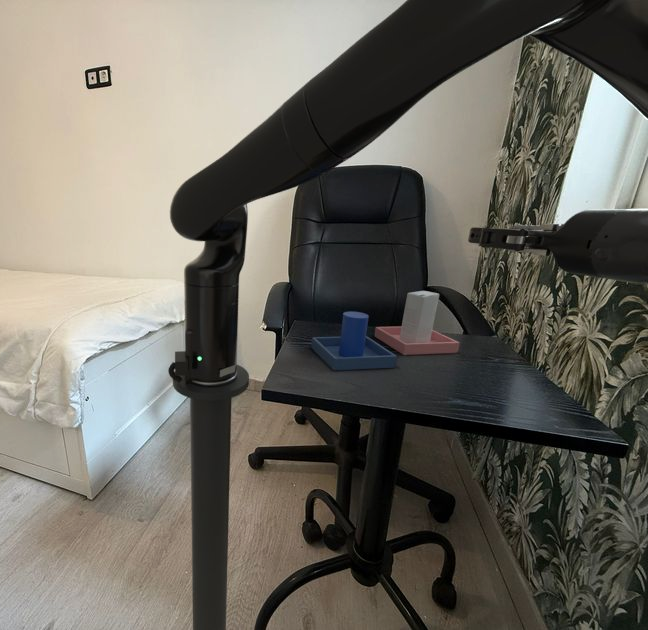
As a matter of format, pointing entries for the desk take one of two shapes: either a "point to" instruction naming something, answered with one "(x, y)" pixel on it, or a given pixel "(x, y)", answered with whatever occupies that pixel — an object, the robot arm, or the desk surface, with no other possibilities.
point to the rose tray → (435, 345)
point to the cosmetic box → (419, 317)
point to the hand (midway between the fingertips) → (496, 235)
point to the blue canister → (353, 334)
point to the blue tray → (371, 358)
